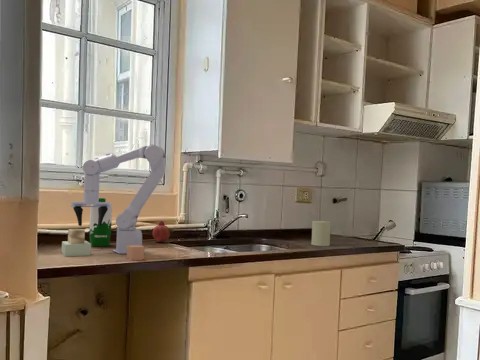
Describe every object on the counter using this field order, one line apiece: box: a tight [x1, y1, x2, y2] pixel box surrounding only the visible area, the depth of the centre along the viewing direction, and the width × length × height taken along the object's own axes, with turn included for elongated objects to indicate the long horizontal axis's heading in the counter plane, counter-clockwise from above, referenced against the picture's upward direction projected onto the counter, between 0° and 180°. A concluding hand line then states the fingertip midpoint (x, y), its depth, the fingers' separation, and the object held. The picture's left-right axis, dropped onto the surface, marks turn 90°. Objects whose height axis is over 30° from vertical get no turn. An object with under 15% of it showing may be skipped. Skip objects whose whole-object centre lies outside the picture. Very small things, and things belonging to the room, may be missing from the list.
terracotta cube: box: [126, 245, 146, 261], centre depth 167 cm, size 5×5×5 cm
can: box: [310, 220, 332, 247], centre depth 229 cm, size 9×9×12 cm
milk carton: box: [88, 197, 113, 248], centre depth 196 cm, size 9×9×20 cm
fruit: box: [152, 220, 171, 243], centre depth 214 cm, size 8×8×10 cm
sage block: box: [61, 240, 92, 257], centre depth 173 cm, size 9×9×4 cm
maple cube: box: [67, 228, 86, 244], centre depth 173 cm, size 5×5×5 cm
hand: (89, 225), depth 181 cm, fingers open, 7 cm apart
